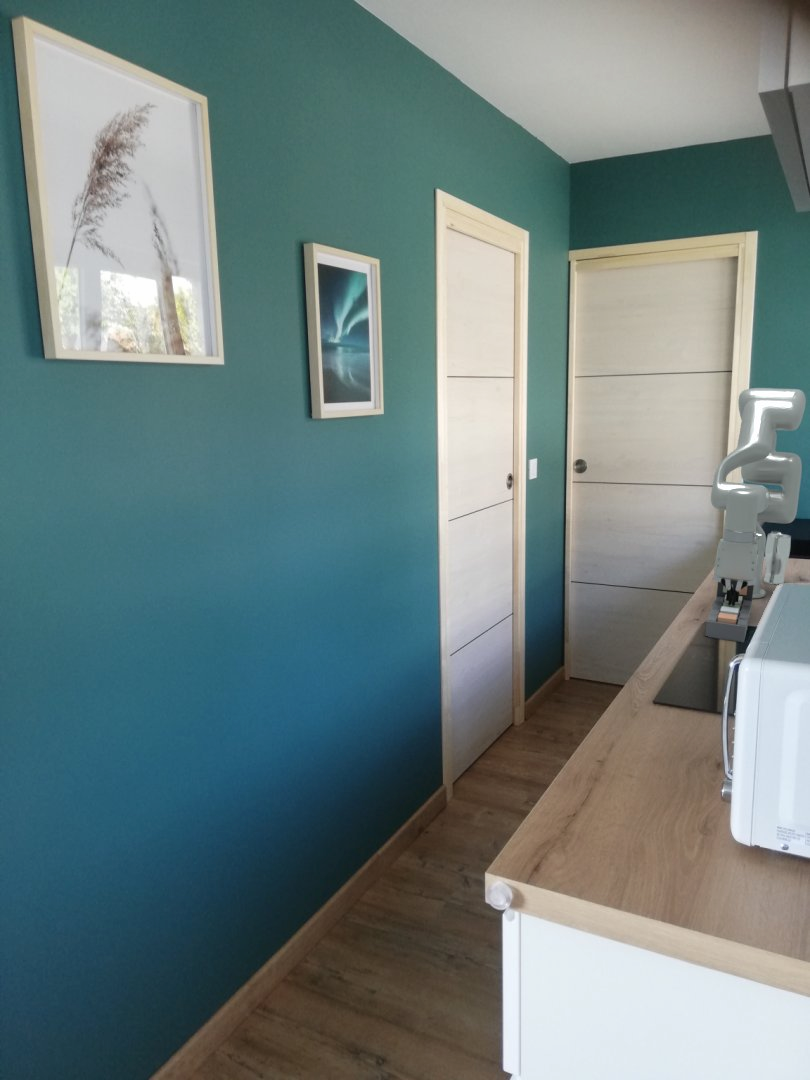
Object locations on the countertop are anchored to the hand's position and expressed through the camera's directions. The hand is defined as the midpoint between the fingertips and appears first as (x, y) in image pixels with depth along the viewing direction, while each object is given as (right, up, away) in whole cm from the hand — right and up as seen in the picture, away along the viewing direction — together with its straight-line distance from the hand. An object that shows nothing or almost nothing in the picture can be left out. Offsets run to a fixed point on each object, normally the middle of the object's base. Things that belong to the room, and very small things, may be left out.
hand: (731, 603), depth 211 cm
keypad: (-1, -5, -1) cm, 6 cm away
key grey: (-3, -3, -6) cm, 7 cm away
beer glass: (+30, +3, +40) cm, 50 cm away
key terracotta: (-6, -4, -11) cm, 13 cm away
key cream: (+3, 0, +5) cm, 6 cm away
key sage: (0, -2, 0) cm, 2 cm away
